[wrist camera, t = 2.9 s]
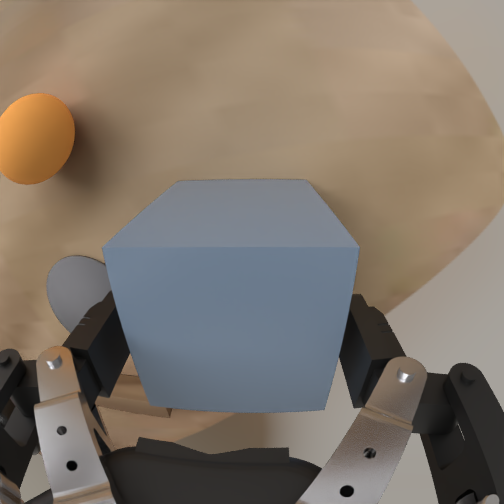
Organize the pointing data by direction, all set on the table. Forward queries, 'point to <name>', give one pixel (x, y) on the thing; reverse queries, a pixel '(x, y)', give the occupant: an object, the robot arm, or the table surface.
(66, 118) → the ball
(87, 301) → the gray ellipsoid
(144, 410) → the strip
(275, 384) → the blue gray block
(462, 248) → the table surface
